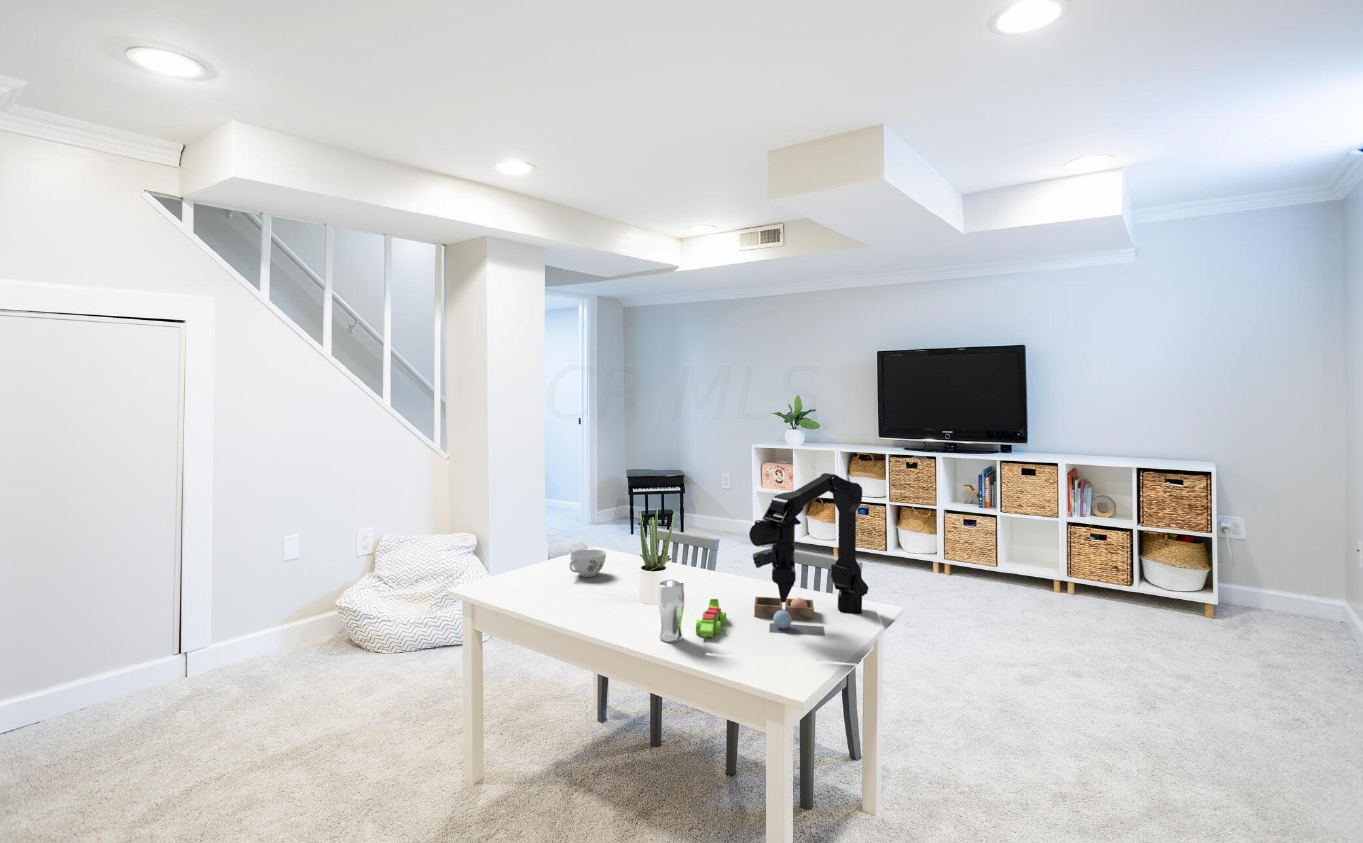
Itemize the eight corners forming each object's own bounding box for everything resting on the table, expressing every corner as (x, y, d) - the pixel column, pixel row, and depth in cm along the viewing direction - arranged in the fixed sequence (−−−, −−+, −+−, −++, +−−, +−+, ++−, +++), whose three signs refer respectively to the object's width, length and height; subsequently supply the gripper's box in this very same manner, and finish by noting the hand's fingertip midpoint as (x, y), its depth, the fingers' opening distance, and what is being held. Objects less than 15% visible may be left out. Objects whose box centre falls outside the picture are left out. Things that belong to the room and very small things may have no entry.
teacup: (589, 568, 246) (589, 546, 246) (613, 574, 238) (613, 552, 238) (557, 577, 235) (557, 554, 234) (582, 584, 227) (582, 560, 226)
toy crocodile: (716, 644, 176) (716, 621, 176) (691, 641, 178) (691, 619, 178) (728, 618, 195) (729, 598, 195) (706, 616, 197) (706, 596, 197)
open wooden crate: (781, 611, 202) (782, 598, 202) (782, 620, 194) (782, 606, 194) (755, 609, 203) (755, 596, 203) (754, 618, 195) (754, 605, 195)
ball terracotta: (807, 612, 199) (807, 595, 199) (807, 617, 194) (808, 600, 194) (790, 611, 200) (790, 594, 200) (790, 616, 195) (790, 599, 195)
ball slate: (791, 625, 188) (791, 608, 188) (791, 632, 183) (791, 614, 183) (773, 624, 189) (773, 607, 189) (773, 631, 184) (773, 613, 184)
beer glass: (657, 633, 183) (658, 579, 182) (682, 633, 183) (683, 579, 182) (658, 643, 176) (659, 587, 175) (685, 643, 176) (685, 587, 175)
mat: (823, 628, 188) (823, 626, 188) (825, 637, 181) (825, 635, 181) (769, 625, 190) (769, 623, 190) (769, 634, 183) (769, 632, 183)
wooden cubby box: (812, 612, 201) (812, 599, 200) (813, 622, 193) (813, 608, 192) (785, 611, 202) (785, 598, 202) (785, 620, 194) (785, 607, 194)
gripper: (755, 532, 195) (754, 585, 196) (753, 548, 177) (752, 606, 178) (794, 534, 193) (793, 587, 194) (796, 550, 175) (794, 608, 176)
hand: (782, 596), depth 186 cm, fingers open, 9 cm apart
